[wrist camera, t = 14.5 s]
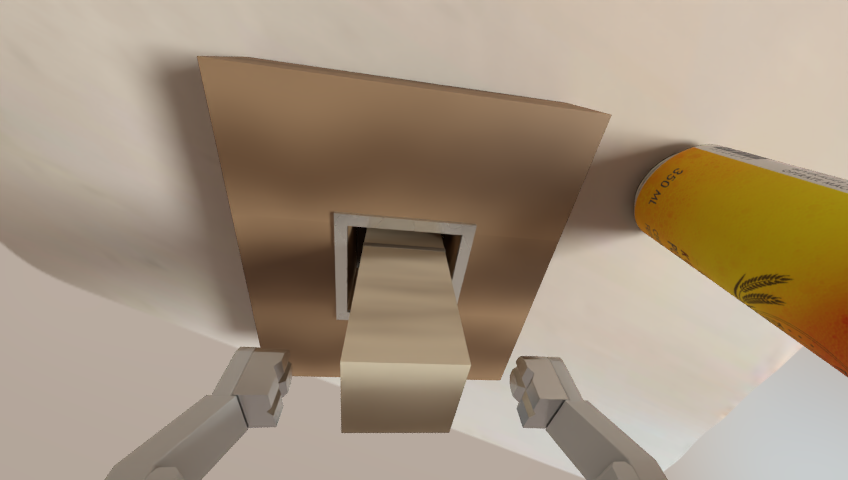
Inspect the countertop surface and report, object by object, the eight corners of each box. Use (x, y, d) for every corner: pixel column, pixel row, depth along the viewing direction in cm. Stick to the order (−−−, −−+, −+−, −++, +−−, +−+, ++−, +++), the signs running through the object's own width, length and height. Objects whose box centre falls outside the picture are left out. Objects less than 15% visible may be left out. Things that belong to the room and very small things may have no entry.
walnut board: (247, 57, 14) (193, 56, 10) (566, 102, 16) (614, 115, 12) (286, 328, 23) (265, 378, 19) (486, 336, 25) (501, 382, 21)
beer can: (611, 230, 20) (969, 522, 8) (650, 138, 17) (1374, 368, 4) (693, 231, 21) (1159, 506, 8) (746, 142, 18) (1644, 359, 5)
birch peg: (370, 205, 18) (339, 361, 9) (436, 211, 19) (472, 364, 9) (368, 260, 20) (340, 433, 11) (427, 264, 21) (449, 433, 11)
